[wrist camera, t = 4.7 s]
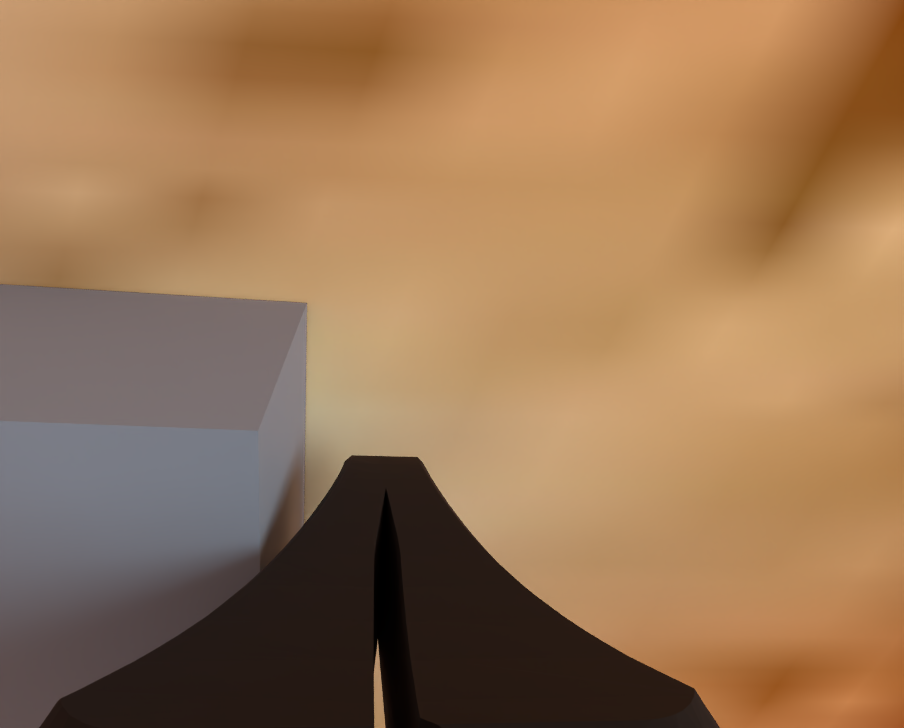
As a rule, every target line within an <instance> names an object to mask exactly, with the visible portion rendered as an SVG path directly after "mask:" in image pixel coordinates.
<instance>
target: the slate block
mask: <svg viewBox="0 0 904 728" xmlns="http://www.w3.org/2000/svg"><path fill="white" fill-rule="evenodd" d="M306 334H307V303H299V302H282V301H266V300H249V299H233V298H217V297H200V296H184V295H167V294H151V293H135V292H118V291H102V290H85V289H69V288H53V287H36V286H20V285H3V284H0V728H39V727H40V726H41V724H42V723H43V721H44V720H45V719H46V717H47V716H48V714H49V713H50V711H51V710H52V708H53V707H54V706H55V704H56V703H57V701H58V700H59V699H60V698H62V697H65V696H67V695H69V694H71V693H73V692H75V691H77V690H79V689H81V688H83V687H85V686H87V685H89V684H91V683H93V682H95V681H97V680H99V679H101V678H103V677H105V676H107V675H109V674H110V673H112V672H114V671H116V670H118V669H120V668H122V667H124V666H126V665H128V664H130V663H132V662H134V661H136V660H137V659H139V658H141V657H143V656H144V655H146V654H148V653H150V652H151V651H153V650H155V649H156V648H158V647H160V646H161V645H163V644H164V643H166V642H168V641H169V640H171V639H173V638H174V637H176V636H178V635H179V634H181V633H182V632H184V631H185V630H187V629H188V628H190V627H191V626H193V625H194V624H196V623H197V622H199V621H200V620H202V619H203V618H205V617H206V616H207V615H209V614H210V613H211V612H213V611H214V610H215V609H217V608H218V607H219V606H220V605H222V604H223V603H224V602H225V601H227V600H228V599H229V598H230V597H232V596H233V595H234V594H235V593H236V592H238V591H239V590H240V589H241V588H243V587H244V586H245V585H246V584H247V583H248V582H250V581H251V580H252V579H253V578H254V577H255V576H256V575H257V574H258V573H259V572H260V571H261V570H262V569H264V568H265V567H266V566H267V565H268V564H269V563H270V562H271V561H272V560H273V559H274V558H275V557H276V556H277V555H278V553H279V552H280V551H281V550H282V549H283V548H284V547H285V546H286V545H287V544H288V543H289V541H290V540H291V539H292V538H293V537H294V536H295V534H296V533H297V532H298V531H299V530H300V529H301V527H302V526H303V525H304V474H305V404H306Z"/></svg>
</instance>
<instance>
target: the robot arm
mask: <svg viewBox="0 0 904 728" xmlns="http://www.w3.org/2000/svg"><path fill="white" fill-rule="evenodd" d="M377 641H378V645H379V657H380V668H381V680H382V691H383V703H384V714H385V726H386V728H720V727H719V726H718V724H717V723H716V721H715V720H714V718H713V717H712V715H711V714H710V712H709V711H708V709H707V708H706V706H705V705H704V703H703V702H702V700H701V698H700V697H699V695H698V693H697V692H696V690H695V689H694V688H692V687H690V686H688V685H686V684H684V683H682V682H680V681H678V680H676V679H673V678H671V677H669V676H667V675H665V674H663V673H661V672H659V671H657V670H655V669H653V668H651V667H649V666H647V665H645V664H643V663H641V662H639V661H637V660H635V659H633V658H631V657H629V656H627V655H625V654H623V653H622V652H620V651H618V650H616V649H615V648H613V647H611V646H610V645H608V644H606V643H605V642H603V641H601V640H600V639H598V638H596V637H595V636H593V635H591V634H589V633H588V632H586V631H585V630H583V629H582V628H580V627H579V626H577V625H576V624H574V623H573V622H571V621H570V620H568V619H567V618H565V617H564V616H562V615H561V614H560V613H558V612H557V611H556V610H554V609H553V608H551V607H550V606H549V605H547V604H546V603H545V602H543V601H542V600H541V599H539V598H538V597H537V596H535V595H534V594H533V593H532V592H530V591H529V590H528V589H527V588H525V587H524V586H523V585H522V584H521V583H520V582H518V581H517V580H516V579H515V578H514V577H513V576H512V575H511V574H510V573H509V572H507V571H506V570H505V569H504V568H503V567H502V566H501V565H500V564H499V563H498V562H497V561H496V560H495V559H494V558H493V557H492V556H491V555H490V554H489V553H488V552H487V551H486V550H485V548H484V547H483V546H482V545H481V544H480V543H479V542H478V541H477V540H476V538H475V537H474V536H473V535H472V534H471V532H470V531H469V530H468V529H467V528H466V526H465V525H464V524H463V523H462V521H461V520H460V519H459V517H458V516H457V515H456V513H455V512H454V511H453V509H452V508H451V507H450V505H449V504H448V503H447V501H446V500H445V498H444V497H443V495H442V494H441V492H440V491H439V489H438V488H437V486H436V485H435V483H434V481H433V480H432V478H431V477H430V475H429V473H428V471H427V469H426V468H425V466H424V464H423V463H422V461H421V460H420V459H419V458H418V457H391V456H353V455H352V456H351V457H349V458H348V459H347V460H346V461H345V462H344V465H343V467H342V469H341V471H340V473H339V475H338V477H337V479H336V480H335V482H334V484H333V485H332V487H331V488H330V490H329V491H328V493H327V494H326V496H325V497H324V499H323V500H322V501H321V503H320V504H319V505H318V507H317V508H316V510H315V511H314V512H313V514H312V515H311V516H310V518H309V519H308V520H307V522H306V523H305V524H304V525H303V526H302V527H301V529H300V530H299V531H298V532H297V533H296V534H295V536H294V537H293V538H292V539H291V540H290V541H289V543H288V544H287V545H286V546H285V547H284V548H283V549H282V550H281V551H280V552H279V553H278V555H277V556H276V557H275V558H274V559H273V560H272V561H271V562H270V563H269V564H268V565H267V566H266V567H265V568H264V569H262V570H261V571H260V572H259V573H258V574H257V575H256V576H255V577H254V578H253V579H252V580H251V581H250V582H248V583H247V584H246V585H245V586H244V587H243V588H241V589H240V590H239V591H238V592H236V593H235V594H234V595H233V596H232V597H230V598H229V599H228V600H227V601H225V602H224V603H223V604H222V605H220V606H219V607H218V608H217V609H215V610H214V611H213V612H211V613H210V614H209V615H207V616H206V617H205V618H203V619H202V620H200V621H199V622H197V623H196V624H194V625H193V626H191V627H190V628H188V629H187V630H185V631H184V632H182V633H181V634H179V635H178V636H176V637H174V638H173V639H171V640H169V641H168V642H166V643H164V644H163V645H161V646H160V647H158V648H156V649H155V650H153V651H151V652H150V653H148V654H146V655H144V656H143V657H141V658H139V659H137V660H136V661H134V662H132V663H130V664H128V665H126V666H124V667H122V668H120V669H118V670H116V671H114V672H112V673H110V674H109V675H107V676H105V677H103V678H101V679H99V680H97V681H95V682H93V683H91V684H89V685H87V686H85V687H83V688H81V689H79V690H77V691H75V692H73V693H71V694H69V695H67V696H65V697H62V698H60V699H59V700H58V701H57V703H56V704H55V706H54V707H53V708H52V710H51V711H50V713H49V714H48V716H47V717H46V719H45V720H44V721H43V723H42V724H41V726H40V727H39V728H374V665H375V657H376V649H377Z"/></svg>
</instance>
